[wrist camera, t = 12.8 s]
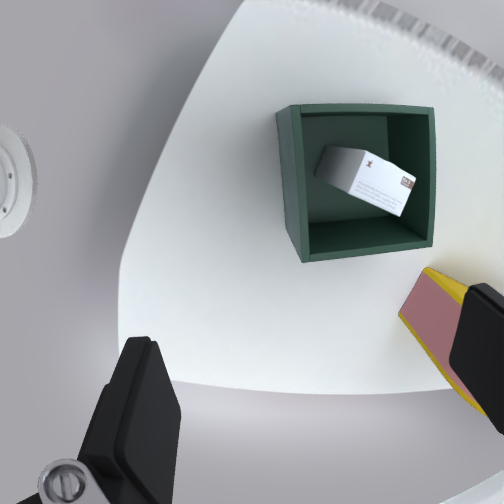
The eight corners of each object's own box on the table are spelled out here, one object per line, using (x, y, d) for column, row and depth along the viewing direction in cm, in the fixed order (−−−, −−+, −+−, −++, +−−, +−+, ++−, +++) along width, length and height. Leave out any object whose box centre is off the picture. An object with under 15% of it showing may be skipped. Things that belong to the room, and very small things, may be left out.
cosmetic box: (312, 176, 38) (343, 196, 27) (325, 142, 36) (363, 148, 25) (355, 195, 39) (399, 221, 28) (369, 162, 37) (418, 177, 26)
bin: (285, 229, 41) (301, 263, 31) (275, 112, 36) (290, 104, 26) (390, 219, 41) (432, 247, 31) (388, 110, 36) (434, 107, 26)
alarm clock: (396, 316, 47) (483, 440, 22) (425, 265, 44) (539, 373, 19) (470, 340, 50) (544, 431, 26) (494, 300, 48) (581, 383, 23)
